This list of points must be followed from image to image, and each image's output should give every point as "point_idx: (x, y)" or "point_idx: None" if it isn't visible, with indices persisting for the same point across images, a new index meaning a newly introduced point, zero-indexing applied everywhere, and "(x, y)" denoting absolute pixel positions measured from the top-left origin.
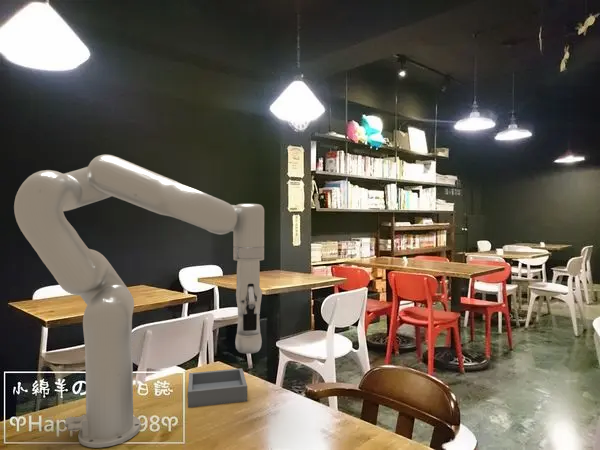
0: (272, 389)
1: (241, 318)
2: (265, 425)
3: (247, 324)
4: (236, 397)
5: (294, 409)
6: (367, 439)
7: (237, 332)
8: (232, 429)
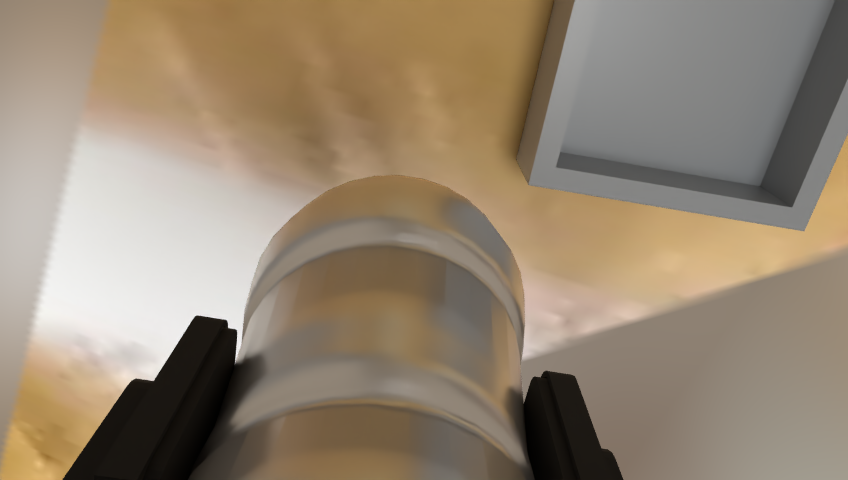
0: (584, 307)
1: (260, 403)
2: (242, 165)
3: (118, 404)
4: (534, 109)
5: None
6: (39, 450)
7: (382, 252)
8: (253, 9)
